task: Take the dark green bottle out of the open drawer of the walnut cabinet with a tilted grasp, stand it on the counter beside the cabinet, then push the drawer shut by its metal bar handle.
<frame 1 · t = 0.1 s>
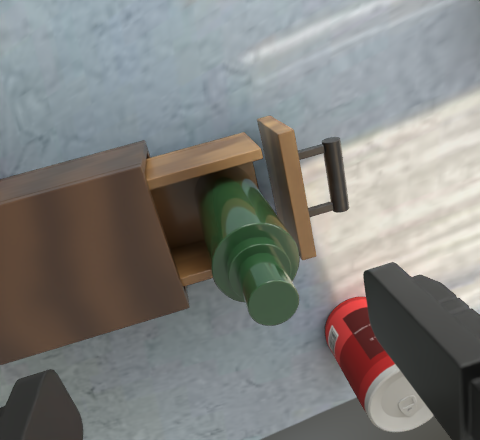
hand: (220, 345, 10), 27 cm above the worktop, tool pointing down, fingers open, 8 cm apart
drawer: (237, 199, 34), point 4 cm above the worktop, slide at 9.5 cm, touching bottle
bottle: (224, 193, 36), point 2 cm above the worktop, touching drawer
cabinet: (85, 224, 37), on the worktop
canned food: (354, 323, 47), on the worktop
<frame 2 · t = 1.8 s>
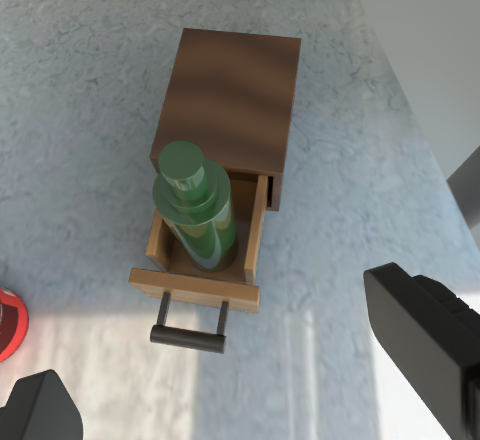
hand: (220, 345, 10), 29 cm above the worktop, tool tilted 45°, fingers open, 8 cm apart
drawer: (207, 247, 37), point 4 cm above the worktop, slide at 9.5 cm, touching bottle
bottle: (212, 246, 40), point 2 cm above the worktop, touching drawer
cabinet: (234, 144, 46), on the worktop
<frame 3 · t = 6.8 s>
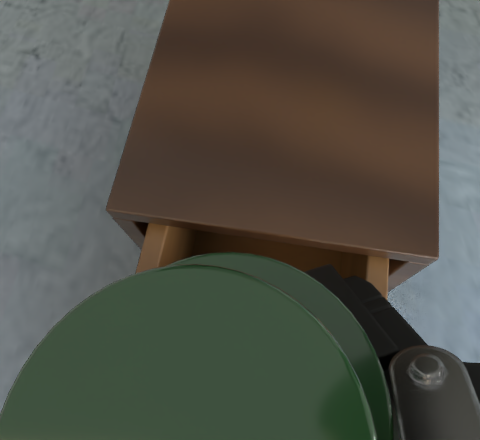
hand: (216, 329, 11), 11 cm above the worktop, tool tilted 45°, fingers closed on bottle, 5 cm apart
drawer: (241, 413, 16), point 4 cm above the worktop, slide at 9.5 cm, touching bottle
bottle: (245, 390, 19), point 2 cm above the worktop, touching drawer, gripper
cabinet: (280, 166, 25), on the worktop
when the fingers open (9 cm above the worktop, at t = 17.5 s): bottle stays where it is, on the worktop.
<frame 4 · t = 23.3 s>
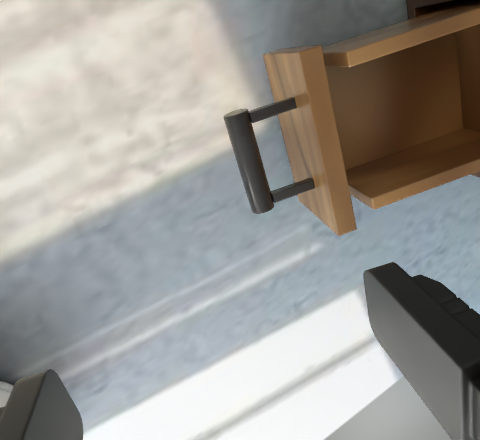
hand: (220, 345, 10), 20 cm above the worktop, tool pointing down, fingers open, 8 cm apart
drawer: (369, 117, 26), point 4 cm above the worktop, slide at 9.5 cm
flower vase: (1, 411, 33), on the worktop
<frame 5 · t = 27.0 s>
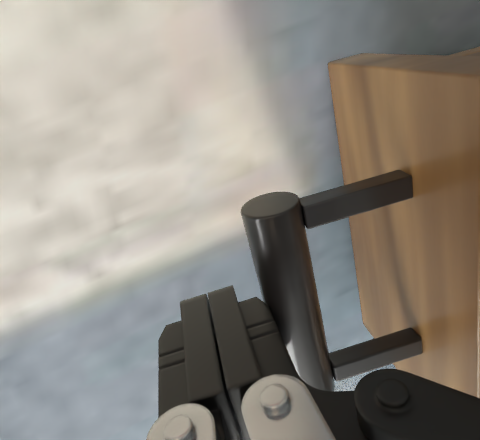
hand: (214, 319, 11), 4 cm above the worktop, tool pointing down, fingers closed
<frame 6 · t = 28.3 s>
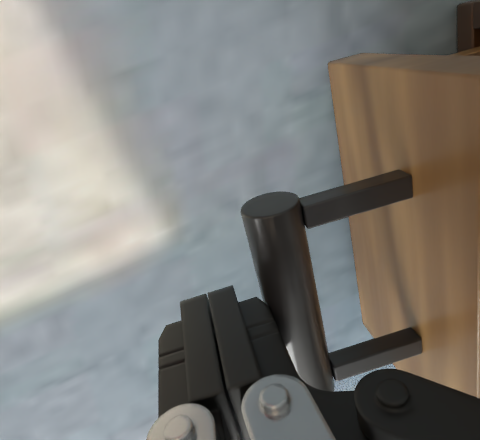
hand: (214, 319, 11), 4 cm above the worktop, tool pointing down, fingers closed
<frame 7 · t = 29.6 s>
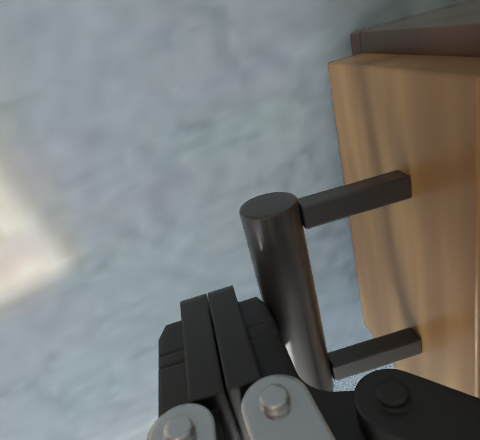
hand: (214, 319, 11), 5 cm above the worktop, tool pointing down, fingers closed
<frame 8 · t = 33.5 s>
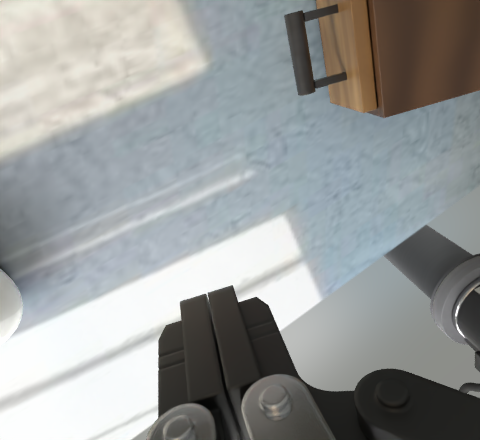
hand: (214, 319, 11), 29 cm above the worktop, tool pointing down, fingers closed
drawer: (391, 28, 34), point 4 cm above the worktop, slide at 0.0 cm
cabinet: (405, 20, 38), on the worktop
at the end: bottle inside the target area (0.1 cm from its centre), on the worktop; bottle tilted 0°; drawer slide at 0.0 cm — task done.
